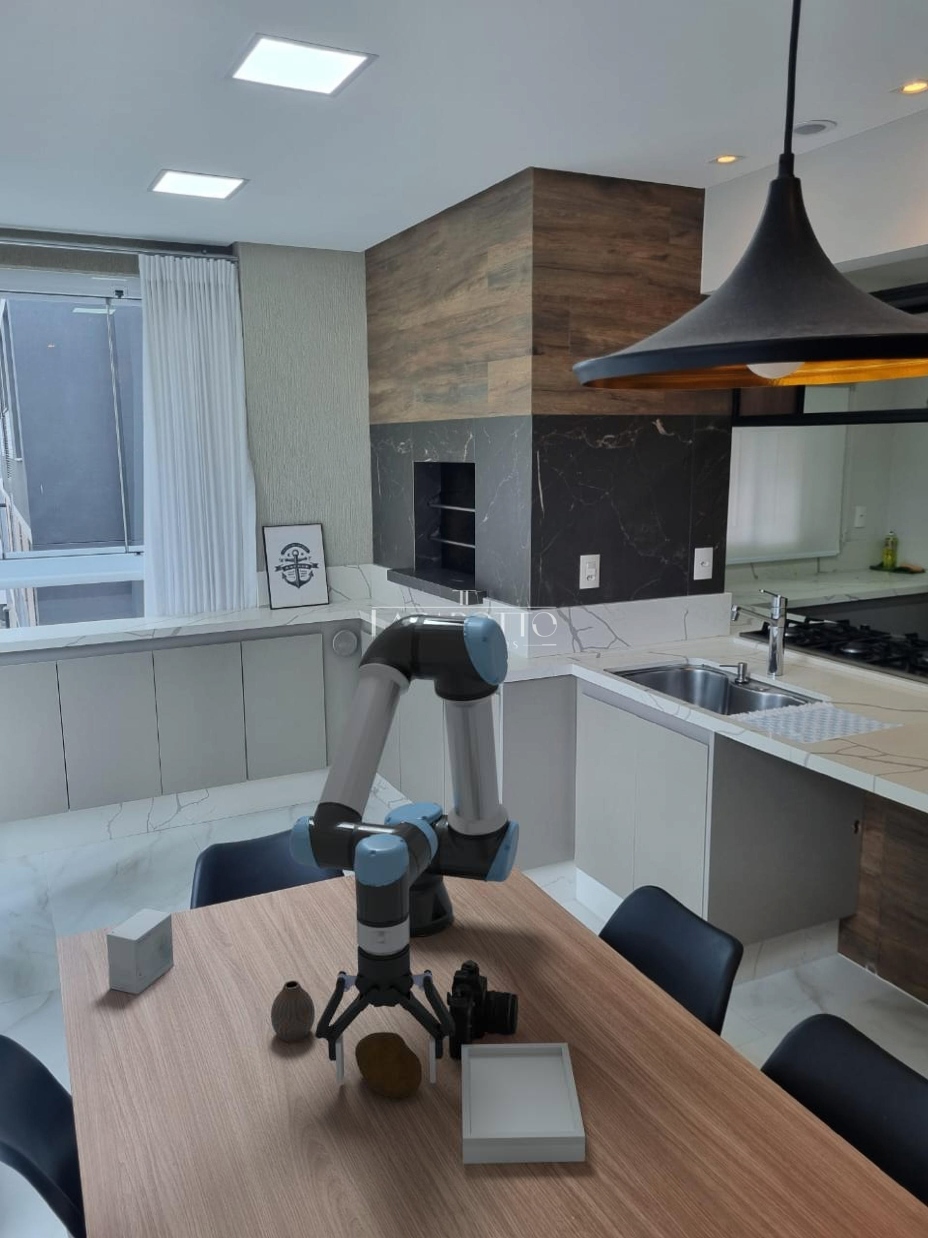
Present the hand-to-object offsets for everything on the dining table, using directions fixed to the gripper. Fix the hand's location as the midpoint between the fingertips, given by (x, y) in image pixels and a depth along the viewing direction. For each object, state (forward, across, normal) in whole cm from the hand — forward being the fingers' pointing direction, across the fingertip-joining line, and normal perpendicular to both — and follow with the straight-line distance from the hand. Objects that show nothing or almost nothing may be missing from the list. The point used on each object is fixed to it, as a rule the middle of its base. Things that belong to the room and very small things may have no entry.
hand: (386, 1078), depth 139 cm
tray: (+1, +19, -6) cm, 20 cm away
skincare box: (+1, -46, +31) cm, 56 cm away
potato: (+2, 0, 0) cm, 2 cm away
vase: (+2, -16, +13) cm, 21 cm away
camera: (+2, +14, +12) cm, 19 cm away
